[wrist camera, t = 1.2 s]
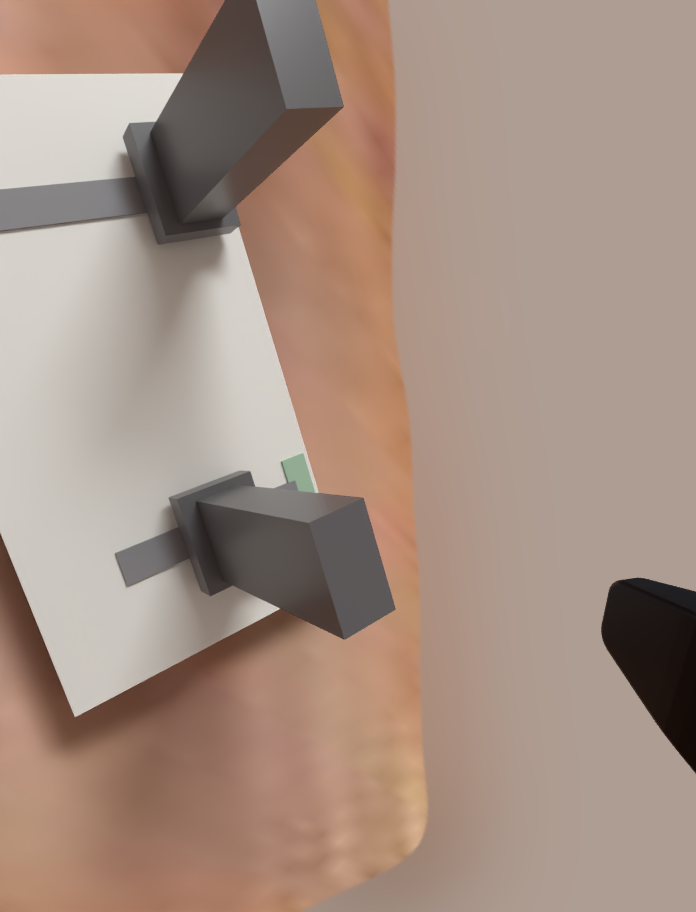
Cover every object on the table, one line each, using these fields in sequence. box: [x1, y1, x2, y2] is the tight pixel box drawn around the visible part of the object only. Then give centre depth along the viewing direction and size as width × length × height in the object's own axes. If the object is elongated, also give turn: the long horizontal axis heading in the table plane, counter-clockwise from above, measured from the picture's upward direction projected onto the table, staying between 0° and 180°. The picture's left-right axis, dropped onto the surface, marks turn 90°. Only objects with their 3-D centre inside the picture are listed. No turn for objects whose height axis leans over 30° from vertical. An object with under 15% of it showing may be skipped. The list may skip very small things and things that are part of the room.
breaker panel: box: [0, 74, 319, 717], centre depth 22 cm, size 11×20×2 cm, turn 19°
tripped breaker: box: [168, 471, 395, 640], centre depth 18 cm, size 3×4×9 cm
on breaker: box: [123, 0, 344, 245], centre depth 18 cm, size 3×4×9 cm
